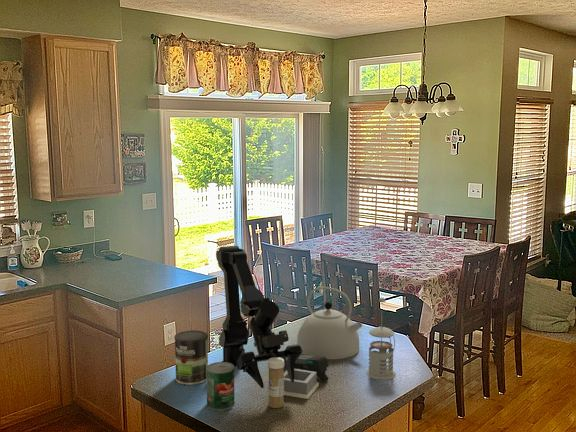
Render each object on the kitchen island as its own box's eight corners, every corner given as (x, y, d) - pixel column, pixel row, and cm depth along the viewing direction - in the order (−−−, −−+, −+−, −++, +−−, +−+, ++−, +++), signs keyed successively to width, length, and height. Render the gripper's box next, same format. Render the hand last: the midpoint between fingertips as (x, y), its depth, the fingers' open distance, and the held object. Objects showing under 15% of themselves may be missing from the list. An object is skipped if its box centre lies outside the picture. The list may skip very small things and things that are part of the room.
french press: (359, 373, 186) (360, 298, 183) (379, 363, 195) (380, 291, 192) (385, 382, 180) (386, 303, 177) (405, 371, 188) (406, 296, 185)
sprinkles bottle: (264, 405, 164) (264, 359, 162) (275, 400, 167) (275, 355, 166) (277, 410, 161) (276, 363, 159) (287, 404, 164) (287, 359, 163)
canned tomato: (227, 412, 160) (226, 374, 158) (201, 408, 162) (200, 370, 161) (239, 400, 167) (238, 363, 166) (214, 396, 170) (214, 360, 168)
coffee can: (198, 387, 176) (197, 342, 175) (169, 382, 180) (168, 338, 178) (214, 374, 186) (213, 332, 184) (186, 370, 189) (185, 328, 188)
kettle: (375, 346, 212) (376, 285, 210) (347, 365, 194) (347, 299, 191) (316, 334, 226) (317, 277, 223) (284, 351, 207) (284, 289, 204)
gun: (323, 384, 178) (315, 351, 179) (282, 386, 192) (275, 356, 194) (333, 380, 181) (325, 348, 182) (292, 382, 195) (285, 353, 197)
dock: (275, 393, 172) (275, 379, 171) (288, 380, 181) (288, 367, 180) (307, 398, 168) (307, 384, 167) (318, 385, 177) (318, 371, 177)
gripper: (239, 325, 161) (254, 378, 152) (299, 317, 169) (317, 366, 160) (230, 344, 169) (244, 395, 160) (288, 335, 177) (304, 383, 168)
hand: (278, 384), depth 162 cm, fingers open, 9 cm apart
